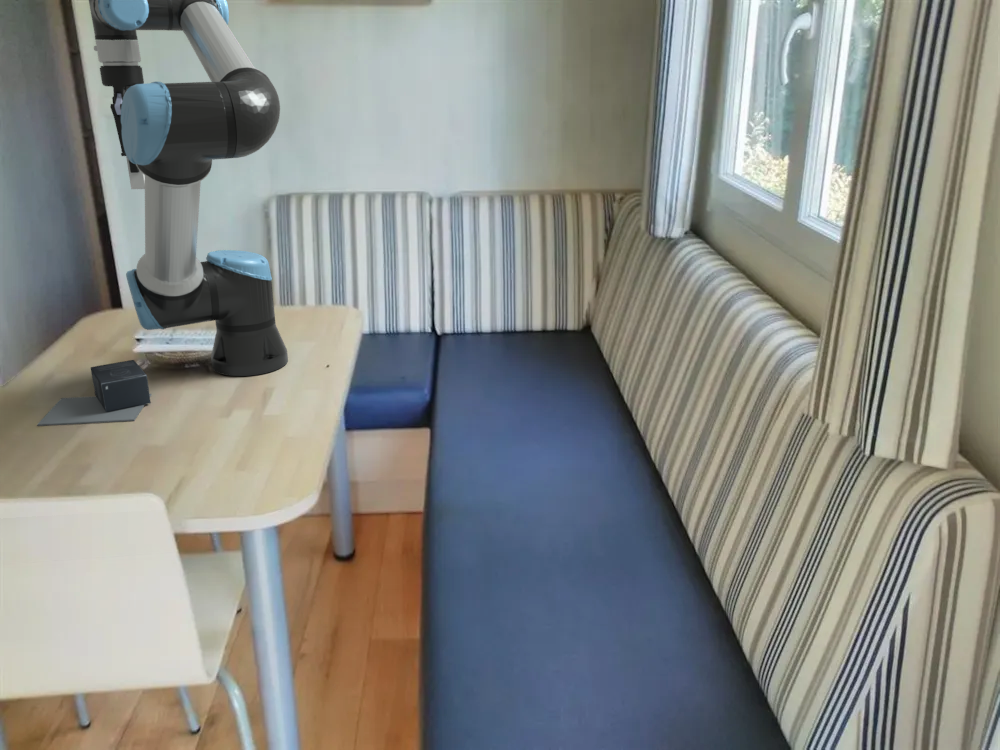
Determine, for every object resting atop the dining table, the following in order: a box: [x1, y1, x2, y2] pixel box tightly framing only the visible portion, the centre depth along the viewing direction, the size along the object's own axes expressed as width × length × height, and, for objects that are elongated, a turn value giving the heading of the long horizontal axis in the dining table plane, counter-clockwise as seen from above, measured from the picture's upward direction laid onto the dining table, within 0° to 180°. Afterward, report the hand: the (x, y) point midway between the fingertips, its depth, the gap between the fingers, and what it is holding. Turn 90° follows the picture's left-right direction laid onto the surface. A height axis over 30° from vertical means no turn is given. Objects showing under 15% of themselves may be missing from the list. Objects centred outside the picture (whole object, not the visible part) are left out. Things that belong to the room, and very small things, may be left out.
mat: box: [37, 393, 152, 427], centre depth 153 cm, size 16×12×1 cm
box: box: [90, 359, 151, 412], centre depth 155 cm, size 8×6×11 cm
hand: (139, 188), depth 171 cm, fingers closed
